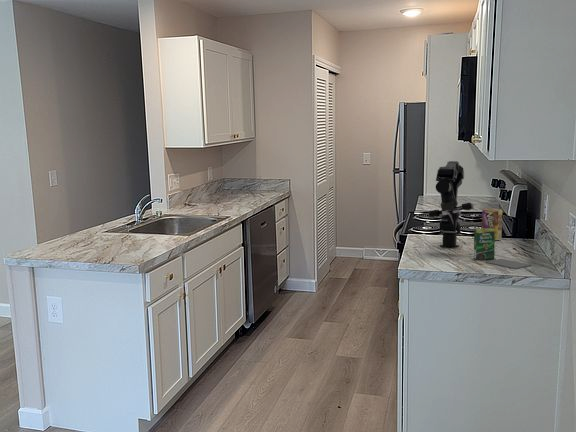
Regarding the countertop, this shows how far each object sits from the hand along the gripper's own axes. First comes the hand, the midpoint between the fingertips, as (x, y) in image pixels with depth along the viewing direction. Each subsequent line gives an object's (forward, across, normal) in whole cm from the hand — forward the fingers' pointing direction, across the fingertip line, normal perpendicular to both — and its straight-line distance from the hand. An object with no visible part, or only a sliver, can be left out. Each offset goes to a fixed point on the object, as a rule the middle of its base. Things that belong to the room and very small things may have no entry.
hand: (454, 229), depth 236 cm
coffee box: (+15, +10, -4) cm, 18 cm away
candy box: (+7, +8, +44) cm, 45 cm away
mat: (+18, +19, -10) cm, 28 cm away
